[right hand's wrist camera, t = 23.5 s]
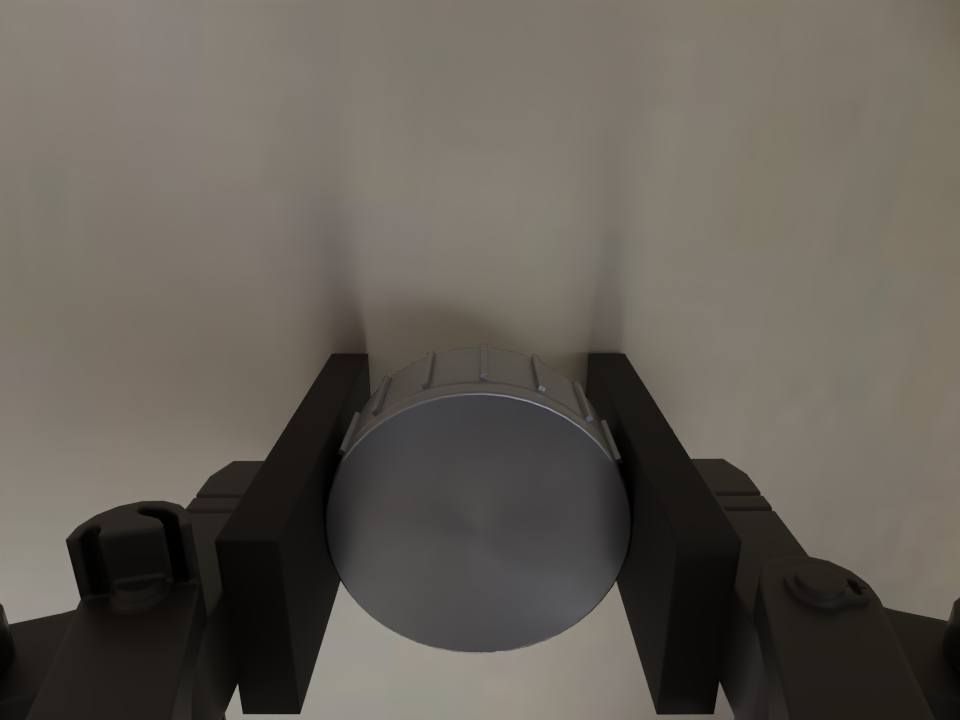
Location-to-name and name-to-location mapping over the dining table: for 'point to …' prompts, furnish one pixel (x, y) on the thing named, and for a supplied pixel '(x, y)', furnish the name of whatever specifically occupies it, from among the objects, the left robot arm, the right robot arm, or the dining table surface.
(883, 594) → the dining table surface
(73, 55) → the dining table surface
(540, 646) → the dining table surface
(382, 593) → the lid
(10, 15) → the dining table surface
